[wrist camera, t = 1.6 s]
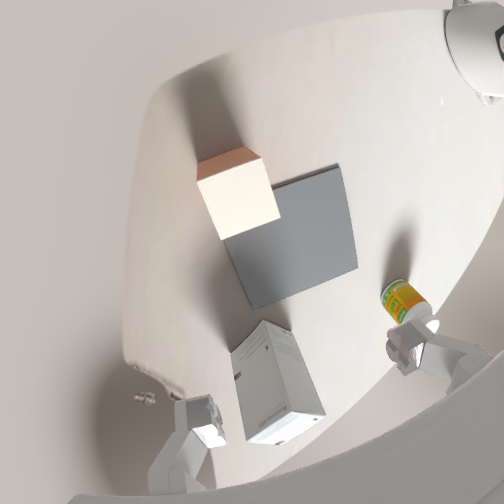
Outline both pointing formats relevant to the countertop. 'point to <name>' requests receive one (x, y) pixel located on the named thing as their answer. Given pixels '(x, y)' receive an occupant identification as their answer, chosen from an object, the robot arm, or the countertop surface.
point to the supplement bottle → (407, 304)
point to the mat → (297, 241)
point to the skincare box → (274, 386)
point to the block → (236, 191)
